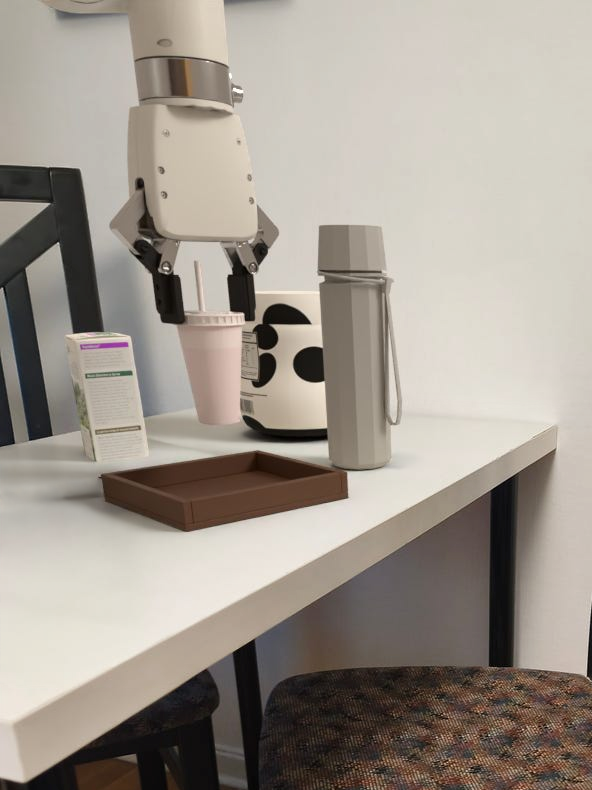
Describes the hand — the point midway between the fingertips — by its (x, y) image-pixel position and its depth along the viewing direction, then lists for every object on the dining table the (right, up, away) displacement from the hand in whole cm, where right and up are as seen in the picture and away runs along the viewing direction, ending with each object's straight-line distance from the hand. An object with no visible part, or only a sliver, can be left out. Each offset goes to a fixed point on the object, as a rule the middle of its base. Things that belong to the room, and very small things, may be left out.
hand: (208, 320), depth 81 cm
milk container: (+1, -1, +42) cm, 42 cm away
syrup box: (-15, -11, +17) cm, 25 cm away
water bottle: (+12, -9, +22) cm, 26 cm away
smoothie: (0, -9, +3) cm, 9 cm away
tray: (0, -15, +6) cm, 17 cm away
